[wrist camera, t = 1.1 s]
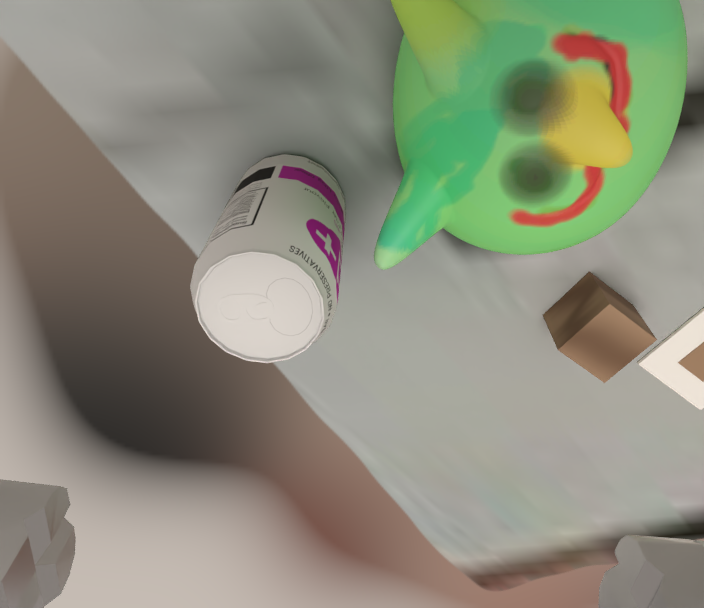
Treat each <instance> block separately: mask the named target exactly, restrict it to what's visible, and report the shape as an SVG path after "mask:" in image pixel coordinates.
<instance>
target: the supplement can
mask: <svg viewBox="0 0 704 608" xmlns="http://www.w3.org/2000/svg"><path fill="white" fill-rule="evenodd" d="M345 219H346V213H345V198H344V196H343V193H342V191H341V189H340V187H339V184H338V182H337V180H336V179H335V178H334V177H333V176H332V175H331V174H330V173H329V172H328V171H327V170H326V169H325V168H324V167H323V166H321V165H319V164H317V163H316V162H314V161H312V160H310V159H308V158H306V157H301V156H294V155H286V154H283V155H278V156H273V157H269V158H264V159H263V160H261V161H260V162H258V163H257V164H255V165H254V166H252V167H251V168H249V169H248V170H247V171H246V173H245V174H244V176H243V177H242V179H241V180H240V181H239V183H238V184H237V186H236V188H235V190H234V192H233V194H232V196H231V198H230V199H229V201H228V203H227V205H226V207H225V209H224V211H223V213H222V215H221V216H220V218H219V220H218V222H217V224H216V226H215V228H214V230H213V232H212V233H211V235H210V237H209V239H208V241H207V243H206V245H205V247H204V249H203V250H202V252H201V254H200V256H199V258H198V260H197V262H196V264H195V266H194V271H193V276H192V281H191V286H190V288H191V293H192V298H193V303H194V308H195V310H196V312H197V315H198V320H199V323H200V324H201V326H202V327H203V329H204V330H205V332H206V334H207V335H208V337H209V338H210V339H211V340H212V341H213V342H214V343H216V344H217V345H218V346H219V347H221V348H222V349H223V350H224V351H225V352H227V353H230V354H232V355H234V356H237V357H239V358H242V359H244V360H247V361H255V362H264V363H270V362H276V361H282V360H288V359H290V358H292V357H294V356H296V355H297V354H299V353H301V352H303V351H305V350H306V349H307V348H308V347H309V346H310V345H311V344H313V343H315V342H316V341H317V340H318V339H319V338H320V336H321V335H322V334H323V333H324V332H325V331H326V330H327V329H328V327H329V326H330V325H331V322H332V319H333V316H334V313H335V310H336V307H337V303H338V293H339V282H340V272H341V261H342V251H343V240H344V230H345Z"/></svg>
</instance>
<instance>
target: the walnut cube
mask: <svg viewBox="0 0 704 608" xmlns="http://www.w3.org/2000/svg"><path fill="white" fill-rule="evenodd" d="M543 317H544V319H545V321H546V324H547V326H548V328H549V330H550V333H551V335H552V337H553V340H554V342H555V344H556V347H557V349H558V350H559V351H560V352H562V353H563V354H564V355H566V356H567V357H569V358H570V359H572V360H573V361H574V362H576V363H577V364H579V365H580V366H581V367H583V368H584V369H586V370H587V371H588V372H590V373H591V374H593V375H594V376H596V377H597V378H598V379H600V380H601V381H603V382H604V383H605V382H606V381H607V380H609V379H610V378H611V377H612V376H614V375H615V374H616V373H617V372H618V371H620V370H621V369H622V368H623V367H624V366H626V365H627V364H628V363H629V362H631V361H632V360H633V359H634V358H635V357H637V356H638V355H639V354H640V353H641V352H643V351H644V350H645V349H646V348H647V347H649V346H650V345H651V344H652V343H654V342H655V341H656V340H657V339H656V338H655V336H654V335H653V333H652V332H651V330H650V329H649V328H648V326H647V325H646V323H645V322H644V320H643V319H642V317H641V316H640V314H639V313H638V312H637V310H636V309H635V307H634V306H633V305H632V304H631V303H630V302H628V301H627V300H626V299H624V298H623V297H622V296H621V295H619V294H618V293H617V292H615V291H614V290H613V289H611V288H610V287H609V286H608V285H606V284H605V283H604V282H602V281H601V280H600V279H599V278H597V277H596V276H595V275H593V274H592V273H591V272H588V273H587V274H586V275H585V276H584V277H583V278H582V279H581V280H580V281H579V282H578V283H577V284H576V285H575V286H573V287H572V288H571V289H570V290H569V291H568V292H567V293H566V294H565V295H564V296H563V297H562V298H561V299H560V300H558V301H557V302H556V303H555V304H554V305H553V306H552V307H551V308H550V309H549V310H548V311H547V312H546V313H545V314H544V315H543Z"/></svg>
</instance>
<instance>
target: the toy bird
mask: <svg viewBox="0 0 704 608" xmlns="http://www.w3.org/2000/svg"><path fill="white" fill-rule="evenodd" d="M391 3H392V6H393V8H394V11H395V13H396V15H397V18H398V20H399V22H400V25H401V27H402V29H403V31H404V35H403V38H402V42H401V46H400V50H399V54H398V59H397V64H396V70H395V78H394V89H393V120H394V131H395V138H396V144H397V149H398V153H399V157H400V161H401V164H402V167H403V170H404V176H403V179H402V181H401V184H400V186H399V188H398V191H397V193H396V195H395V198H394V200H393V202H392V205H391V207H390V209H389V212H388V214H387V216H386V219H385V221H384V224H383V226H382V229H381V231H380V234H379V237H378V240H377V243H376V247H375V251H374V261H375V264H376V265H377V267H378V268H380V269H382V270H385V269H389V268H391V267H393V266H395V265H396V264H398V263H399V262H401V261H402V260H403V259H405V258H406V257H407V256H409V255H410V254H411V253H412V252H414V251H415V250H416V249H417V248H418V247H420V246H421V245H422V244H423V243H424V242H426V241H427V240H428V239H429V238H430V237H432V236H433V235H434V234H435V233H437V232H438V231H439V230H441V229H442V228H444V229H445V230H447V231H448V232H450V233H451V234H453V235H454V236H456V237H458V238H459V239H461V240H463V241H465V242H467V243H470V244H472V245H474V246H477V247H480V248H483V249H487V250H490V251H495V252H500V253H506V254H519V255H527V254H540V253H547V252H553V251H557V250H561V249H565V248H568V247H571V246H574V245H576V244H579V243H581V242H584V241H586V240H588V239H590V238H592V237H594V236H596V235H597V234H599V233H601V232H602V231H604V230H605V229H607V228H608V227H610V226H611V225H613V224H614V223H615V222H616V221H618V220H619V219H620V218H621V217H622V216H623V215H624V214H625V213H626V212H627V211H628V210H629V209H630V208H631V207H632V206H633V205H634V204H635V203H636V202H637V201H638V199H639V198H640V197H641V196H642V194H643V193H644V192H645V190H646V189H647V188H648V186H649V185H650V183H651V182H652V180H653V178H654V177H655V175H656V173H657V172H658V170H659V168H660V166H661V164H662V162H663V160H664V158H665V156H666V154H667V152H668V150H669V147H670V145H671V142H672V140H673V137H674V134H675V131H676V128H677V125H678V121H679V118H680V114H681V109H682V105H683V100H684V94H685V87H686V77H687V38H686V30H685V23H684V18H683V13H682V9H681V5H680V2H679V0H391Z"/></svg>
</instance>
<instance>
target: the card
mask: <svg viewBox="0 0 704 608" xmlns="http://www.w3.org/2000/svg"><path fill="white" fill-rule="evenodd" d="M637 363H638V364H639V365H640V366H641V367H643V368H644V369H646V370H647V371H648V372H650V373H651V374H652V375H654V376H655V377H656V378H658V379H659V380H660V381H662V382H663V383H665V384H666V385H667V386H669V387H670V388H671V389H673V390H674V391H675V392H677V393H678V394H679V395H681V396H682V397H684V398H685V399H686V400H688V401H689V402H690V403H692V404H693V405H694V406H696V407H697V408H698V409H700V410H701V409H703V408H704V308H703V309H701V310H700V311H699V312H698V313H696V314H695V315H694V316H693V317H692V318H690V319H689V320H688V321H687V322H685V323H684V324H683V325H682V326H681V327H679V328H678V329H677V330H676V331H675V332H673V333H672V334H671V335H670V336H668V337H667V338H666V339H665V340H664V341H662V342H661V343H660V344H659V345H657V346H656V347H655V348H654V349H653V350H651V351H650V352H649V353H648V354H647V355H645V356H644V357H643V358H642V359H640V360H639V361H638V362H637Z"/></svg>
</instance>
